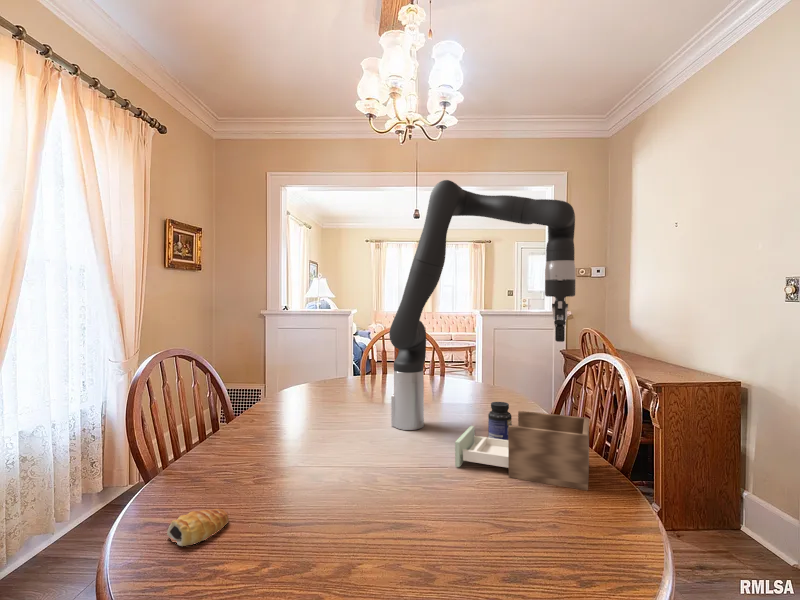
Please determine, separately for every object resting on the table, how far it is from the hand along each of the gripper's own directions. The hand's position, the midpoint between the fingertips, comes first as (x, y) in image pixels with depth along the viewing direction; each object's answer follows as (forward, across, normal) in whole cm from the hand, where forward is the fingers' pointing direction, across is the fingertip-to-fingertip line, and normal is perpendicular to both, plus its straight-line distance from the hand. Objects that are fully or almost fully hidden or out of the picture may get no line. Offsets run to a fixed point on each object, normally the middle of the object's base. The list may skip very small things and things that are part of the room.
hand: (559, 339), depth 112 cm
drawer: (+28, +17, -14) cm, 36 cm away
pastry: (+29, +65, -58) cm, 92 cm away
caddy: (+28, +18, -2) cm, 34 cm away
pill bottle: (+29, +4, -15) cm, 33 cm away
